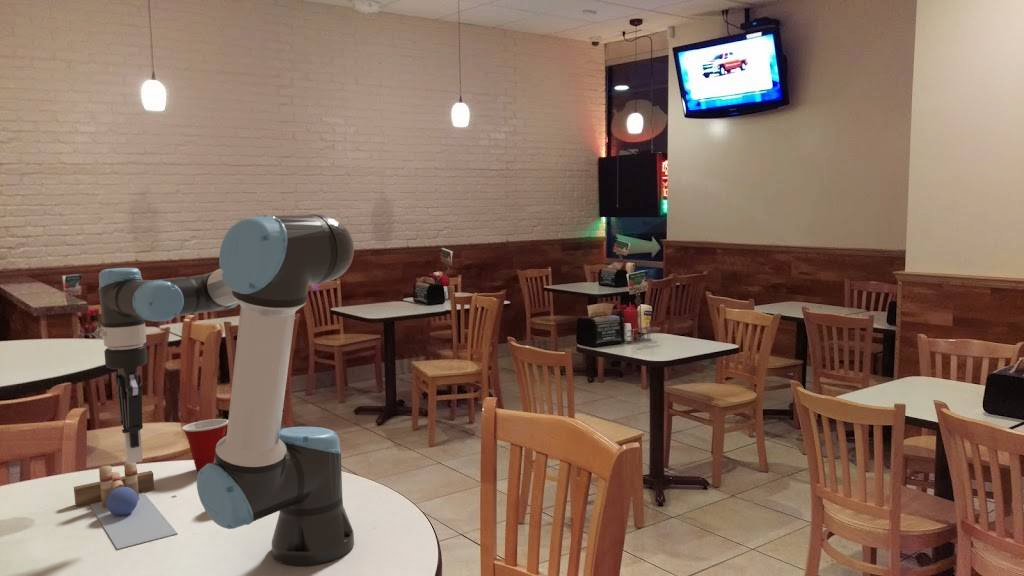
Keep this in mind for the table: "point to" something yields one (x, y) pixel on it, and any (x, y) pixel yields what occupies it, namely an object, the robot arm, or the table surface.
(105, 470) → the pin left
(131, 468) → the pin right
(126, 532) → the plate
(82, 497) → the backstop
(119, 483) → the pin front
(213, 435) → the plastic cup
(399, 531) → the table surface
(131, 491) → the ball
